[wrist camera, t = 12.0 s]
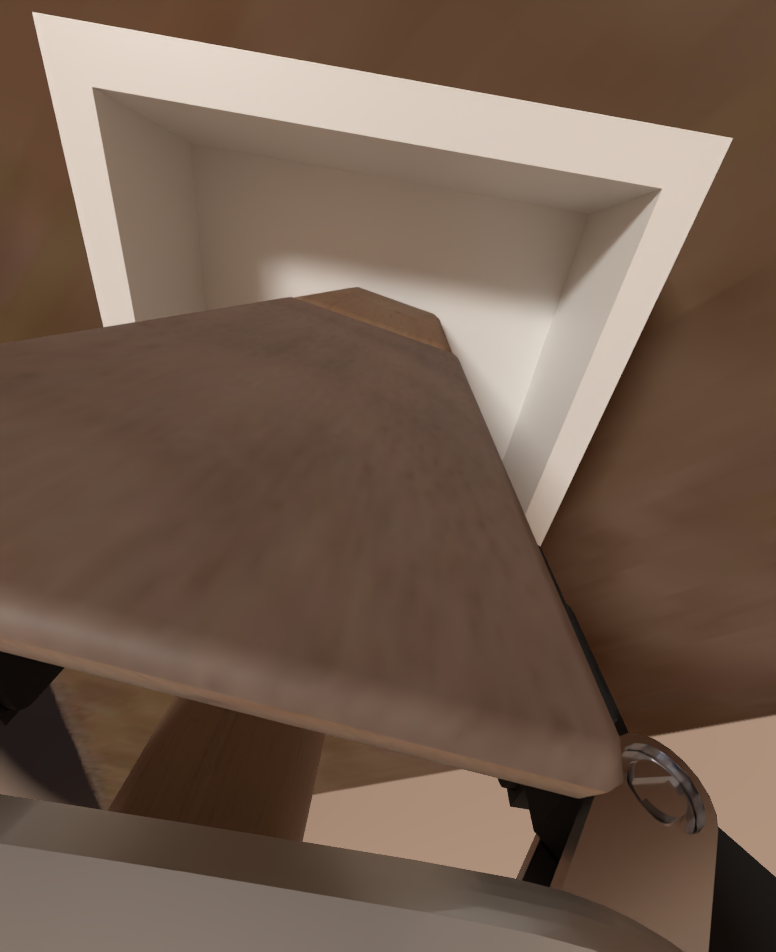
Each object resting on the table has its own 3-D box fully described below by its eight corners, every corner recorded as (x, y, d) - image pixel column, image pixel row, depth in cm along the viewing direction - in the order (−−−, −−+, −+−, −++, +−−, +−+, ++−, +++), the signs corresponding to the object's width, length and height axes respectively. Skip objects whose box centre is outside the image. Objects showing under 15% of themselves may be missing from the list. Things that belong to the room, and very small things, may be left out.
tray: (173, 107, 12) (32, 12, 8) (619, 187, 12) (732, 138, 8) (221, 558, 22) (172, 629, 17) (465, 599, 22) (477, 679, 18)
